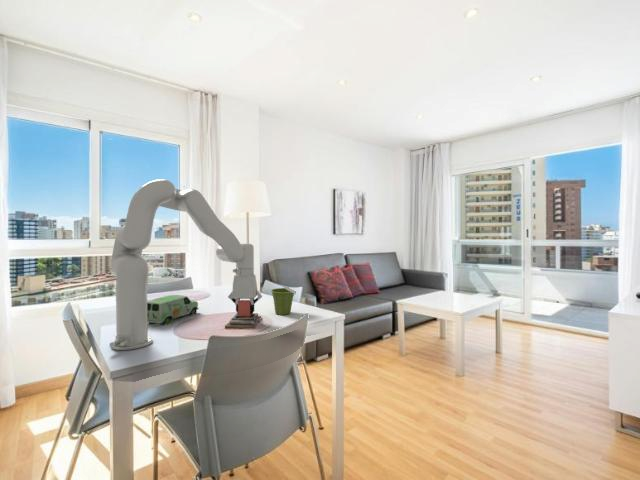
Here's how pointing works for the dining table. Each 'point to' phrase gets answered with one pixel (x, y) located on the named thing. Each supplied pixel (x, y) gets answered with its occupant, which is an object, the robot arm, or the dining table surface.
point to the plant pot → (282, 300)
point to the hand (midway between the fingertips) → (245, 312)
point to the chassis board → (243, 321)
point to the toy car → (169, 308)
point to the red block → (244, 308)
